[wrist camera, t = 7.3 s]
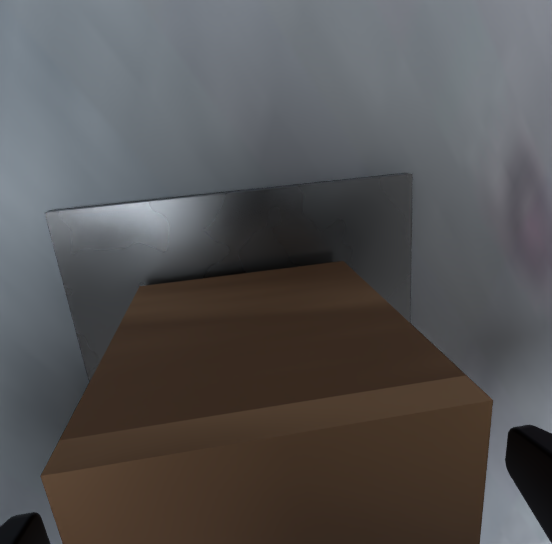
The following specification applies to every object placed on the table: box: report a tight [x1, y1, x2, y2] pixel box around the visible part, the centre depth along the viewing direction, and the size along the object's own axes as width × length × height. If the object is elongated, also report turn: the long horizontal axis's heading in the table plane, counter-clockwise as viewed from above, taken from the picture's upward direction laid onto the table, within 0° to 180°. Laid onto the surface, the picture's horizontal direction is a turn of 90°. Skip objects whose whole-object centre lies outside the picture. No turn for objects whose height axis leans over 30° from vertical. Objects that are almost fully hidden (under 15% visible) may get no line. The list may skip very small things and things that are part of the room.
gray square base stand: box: [45, 173, 412, 382], centre depth 10 cm, size 10×10×7 cm
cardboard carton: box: [41, 261, 493, 544], centre depth 9 cm, size 6×6×7 cm
